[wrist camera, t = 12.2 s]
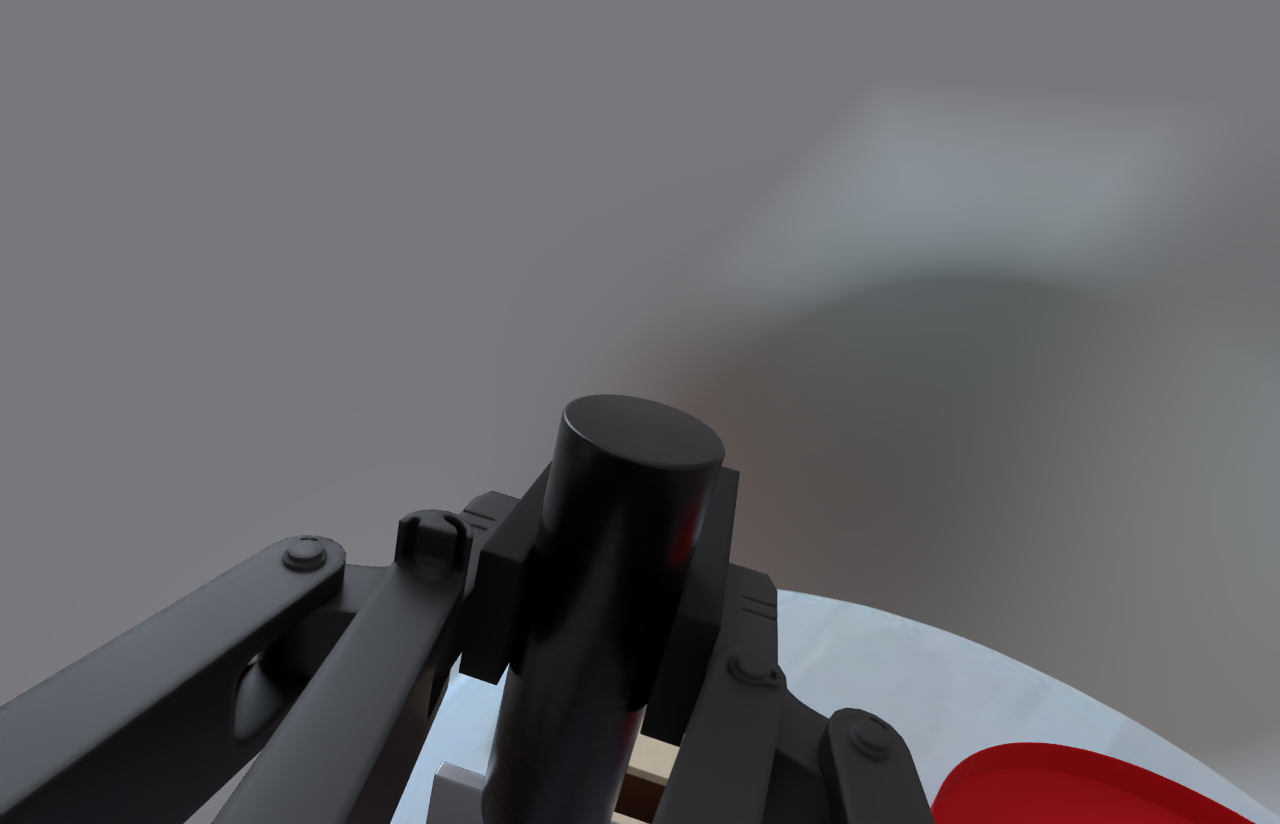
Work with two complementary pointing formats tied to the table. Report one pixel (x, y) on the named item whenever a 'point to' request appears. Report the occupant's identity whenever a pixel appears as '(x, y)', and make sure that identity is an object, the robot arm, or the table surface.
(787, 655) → the table surface
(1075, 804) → the bowl
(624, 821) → the cake slice
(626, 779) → the cake
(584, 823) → the knife
